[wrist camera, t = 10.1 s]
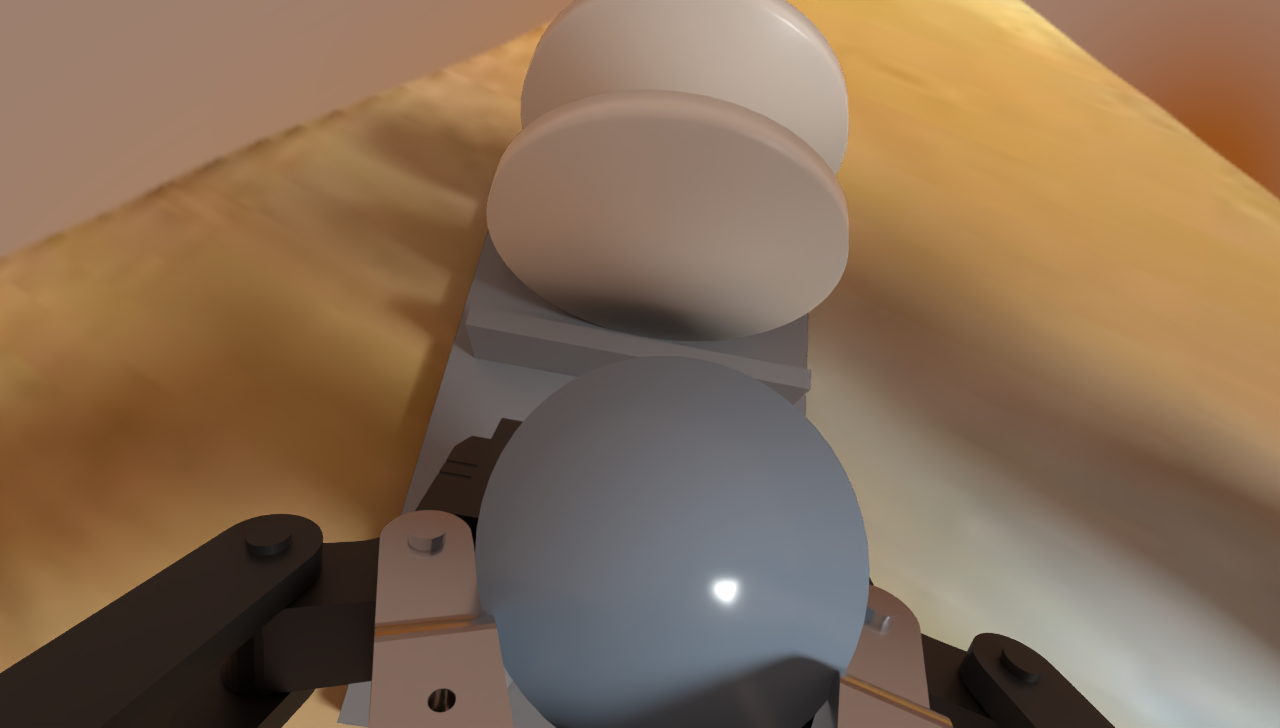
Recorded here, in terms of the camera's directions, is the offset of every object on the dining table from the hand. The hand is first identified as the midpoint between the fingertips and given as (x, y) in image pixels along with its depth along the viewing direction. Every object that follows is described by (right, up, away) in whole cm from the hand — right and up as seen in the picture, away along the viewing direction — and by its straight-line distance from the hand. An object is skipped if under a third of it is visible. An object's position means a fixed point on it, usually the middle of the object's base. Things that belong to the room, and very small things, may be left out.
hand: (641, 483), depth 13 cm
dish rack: (-1, 0, +13) cm, 13 cm away
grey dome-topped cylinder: (-1, -3, +3) cm, 5 cm away
